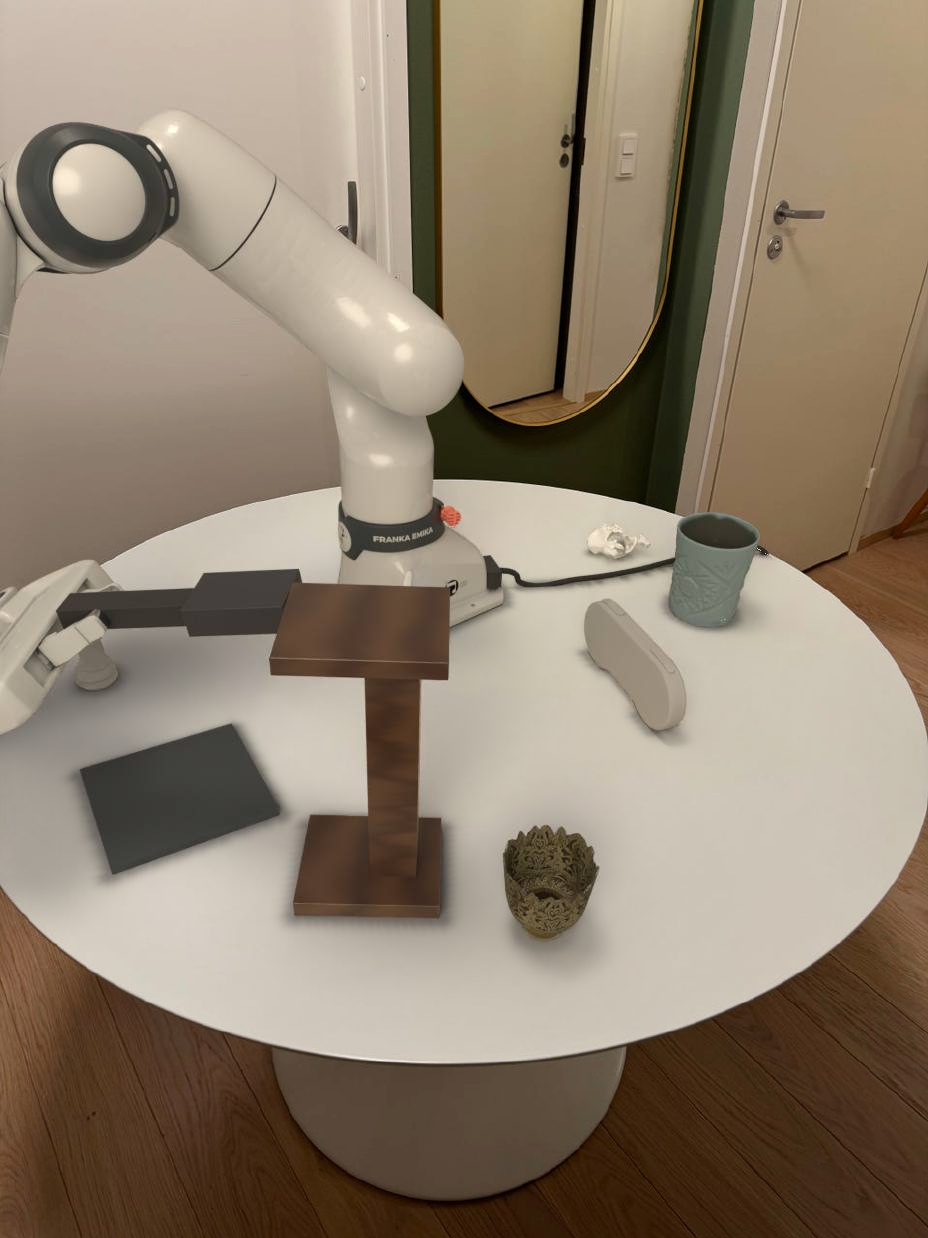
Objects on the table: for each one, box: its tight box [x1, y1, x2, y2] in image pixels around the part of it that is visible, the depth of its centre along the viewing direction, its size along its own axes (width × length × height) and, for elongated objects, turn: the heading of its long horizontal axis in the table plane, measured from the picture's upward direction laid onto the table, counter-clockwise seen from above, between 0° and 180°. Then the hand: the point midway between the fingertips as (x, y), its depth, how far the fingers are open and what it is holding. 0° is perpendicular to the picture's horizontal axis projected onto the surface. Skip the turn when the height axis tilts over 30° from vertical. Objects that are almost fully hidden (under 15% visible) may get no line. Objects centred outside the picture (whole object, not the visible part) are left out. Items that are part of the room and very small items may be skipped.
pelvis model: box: [586, 522, 651, 560], centre depth 127 cm, size 8×4×7 cm
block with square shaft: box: [56, 568, 303, 638], centre depth 69 cm, size 19×6×2 cm, turn 85°
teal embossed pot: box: [667, 511, 761, 628], centre depth 112 cm, size 10×10×12 cm
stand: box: [268, 582, 451, 919], centre depth 69 cm, size 12×10×26 cm
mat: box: [79, 722, 280, 875], centre depth 83 cm, size 15×14×1 cm
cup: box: [502, 824, 600, 941], centre depth 70 cm, size 8×7×8 cm
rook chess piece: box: [74, 637, 119, 691], centre depth 95 cm, size 4×4×8 cm
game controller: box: [583, 598, 687, 731], centre depth 98 cm, size 20×2×8 cm, turn 20°
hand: (112, 606), depth 70 cm, fingers closed on block with square shaft, 3 cm apart
